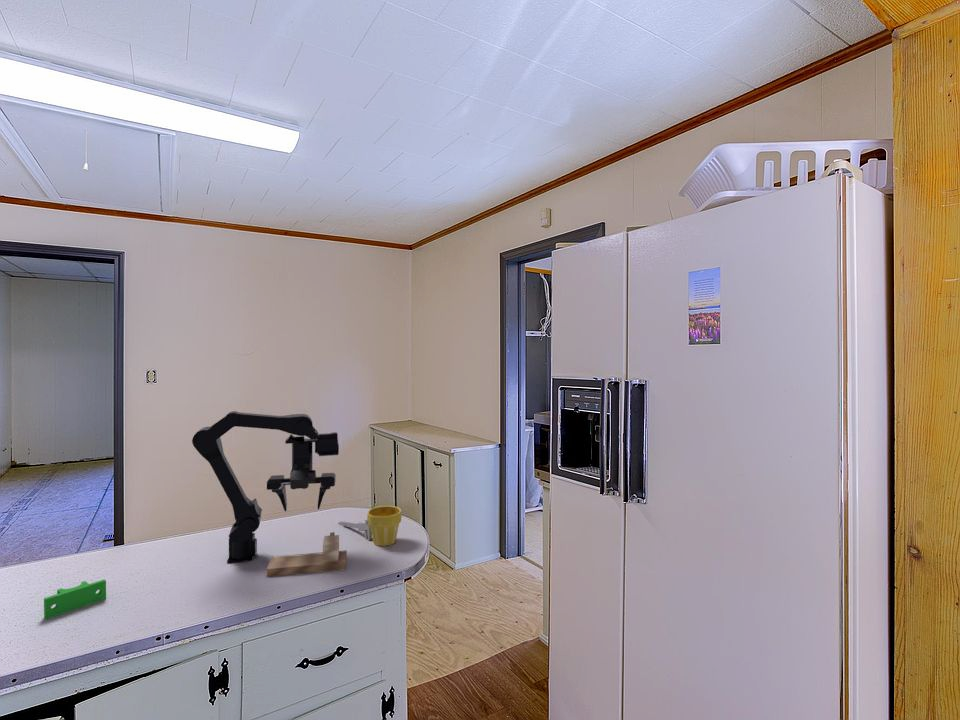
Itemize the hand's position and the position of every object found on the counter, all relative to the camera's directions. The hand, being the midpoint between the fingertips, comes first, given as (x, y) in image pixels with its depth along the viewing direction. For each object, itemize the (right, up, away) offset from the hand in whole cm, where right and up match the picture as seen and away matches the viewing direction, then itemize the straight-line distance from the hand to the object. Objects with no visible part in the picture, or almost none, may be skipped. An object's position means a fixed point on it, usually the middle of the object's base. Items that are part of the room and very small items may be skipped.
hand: (302, 509), depth 147 cm
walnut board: (+6, -12, -11) cm, 17 cm away
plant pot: (+23, -12, +7) cm, 27 cm away
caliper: (+11, -12, +16) cm, 23 cm away
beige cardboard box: (+11, -10, -8) cm, 17 cm away
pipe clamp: (-41, -13, -32) cm, 54 cm away
